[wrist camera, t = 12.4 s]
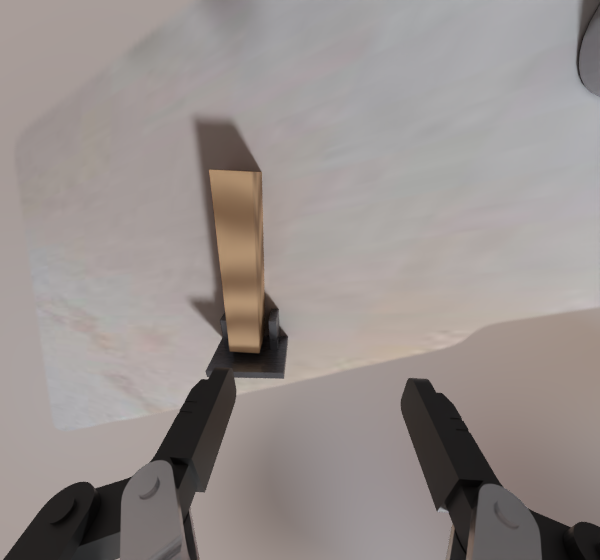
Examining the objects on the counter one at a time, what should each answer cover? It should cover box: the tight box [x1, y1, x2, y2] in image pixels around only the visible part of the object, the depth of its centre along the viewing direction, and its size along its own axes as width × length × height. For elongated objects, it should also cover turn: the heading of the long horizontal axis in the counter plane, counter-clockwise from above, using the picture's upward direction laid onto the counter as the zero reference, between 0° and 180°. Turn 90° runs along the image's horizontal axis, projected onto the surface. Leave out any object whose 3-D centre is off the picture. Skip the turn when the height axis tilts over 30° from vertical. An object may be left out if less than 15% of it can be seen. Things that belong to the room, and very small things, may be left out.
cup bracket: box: [206, 309, 288, 379], centre depth 31 cm, size 6×10×7 cm, turn 90°
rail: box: [209, 170, 265, 353], centre depth 28 cm, size 22×4×5 cm, turn 177°
